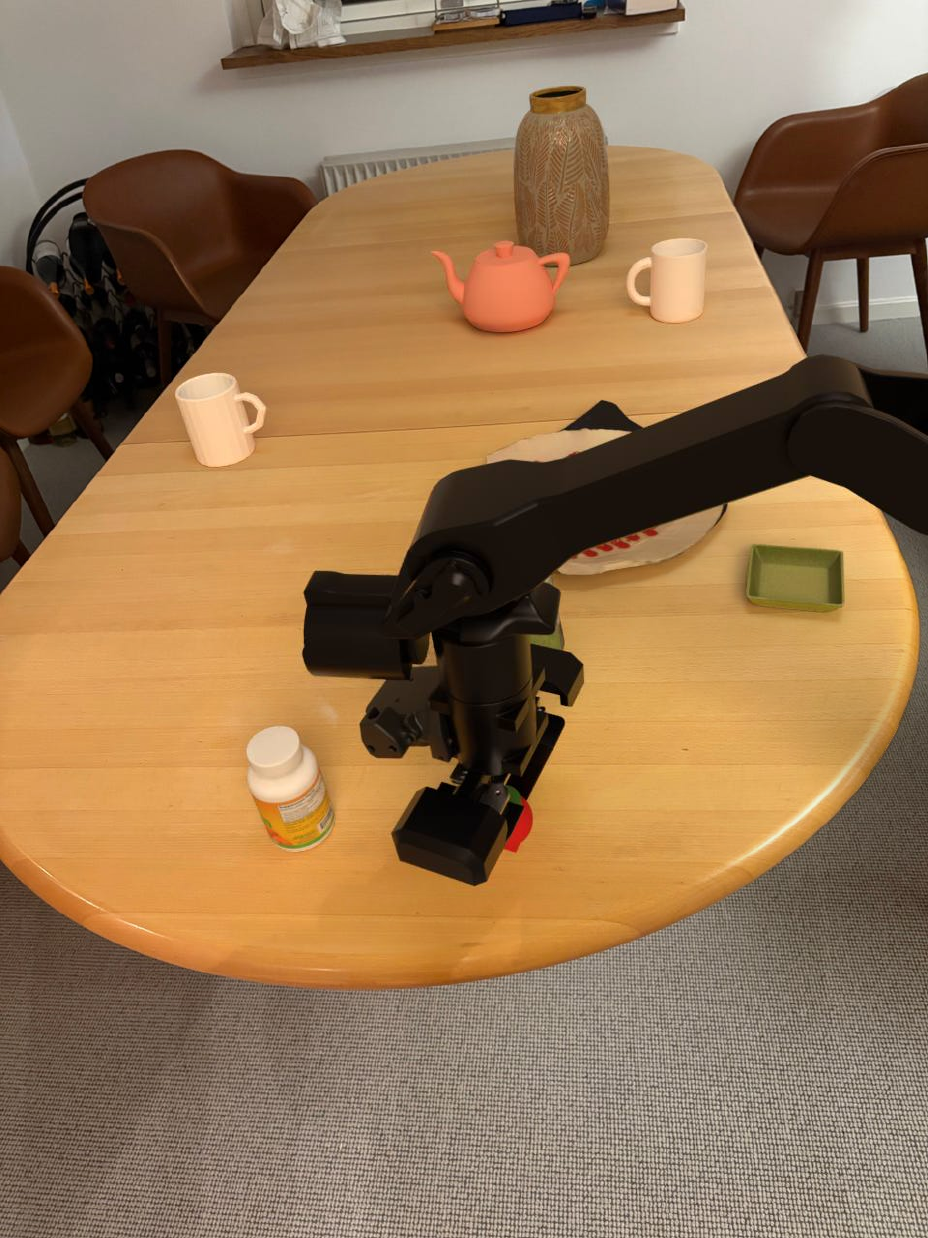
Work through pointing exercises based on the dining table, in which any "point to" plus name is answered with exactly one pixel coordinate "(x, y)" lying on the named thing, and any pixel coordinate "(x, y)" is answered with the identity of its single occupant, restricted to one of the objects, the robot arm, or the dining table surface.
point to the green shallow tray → (796, 578)
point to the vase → (561, 176)
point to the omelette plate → (631, 550)
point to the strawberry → (523, 823)
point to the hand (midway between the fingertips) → (506, 826)
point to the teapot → (506, 287)
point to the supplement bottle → (288, 789)
